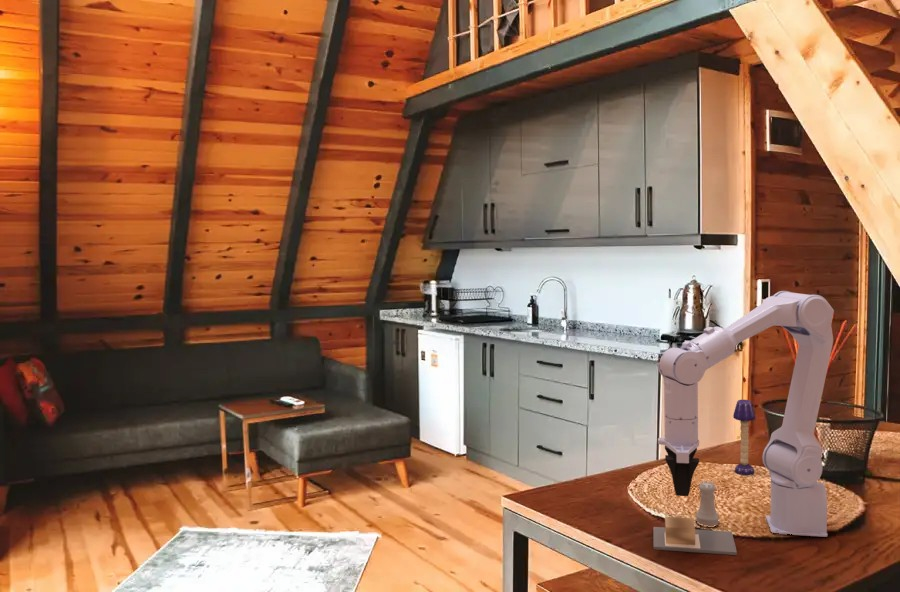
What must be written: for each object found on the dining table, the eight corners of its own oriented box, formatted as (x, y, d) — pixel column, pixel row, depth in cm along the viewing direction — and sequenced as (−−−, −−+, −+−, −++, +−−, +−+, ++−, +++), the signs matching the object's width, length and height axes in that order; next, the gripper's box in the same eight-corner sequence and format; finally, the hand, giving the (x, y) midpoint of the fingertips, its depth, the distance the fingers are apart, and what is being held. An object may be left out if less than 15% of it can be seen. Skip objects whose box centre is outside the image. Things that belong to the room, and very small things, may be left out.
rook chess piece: (721, 528, 146) (721, 487, 145) (696, 527, 147) (696, 486, 146) (717, 519, 151) (717, 479, 150) (693, 518, 151) (693, 478, 151)
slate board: (731, 534, 144) (731, 531, 143) (736, 555, 135) (736, 551, 135) (653, 529, 147) (653, 526, 147) (653, 549, 138) (653, 546, 138)
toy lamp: (758, 475, 174) (758, 402, 173) (737, 476, 174) (737, 403, 173) (750, 468, 179) (750, 397, 177) (730, 469, 179) (730, 398, 177)
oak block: (693, 533, 143) (693, 518, 143) (695, 545, 138) (695, 528, 138) (665, 532, 144) (664, 516, 144) (666, 543, 139) (665, 527, 139)
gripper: (657, 405, 146) (658, 475, 148) (658, 426, 132) (658, 503, 134) (696, 406, 144) (697, 477, 146) (701, 427, 130) (701, 505, 132)
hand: (681, 490), depth 140 cm, fingers open, 5 cm apart
